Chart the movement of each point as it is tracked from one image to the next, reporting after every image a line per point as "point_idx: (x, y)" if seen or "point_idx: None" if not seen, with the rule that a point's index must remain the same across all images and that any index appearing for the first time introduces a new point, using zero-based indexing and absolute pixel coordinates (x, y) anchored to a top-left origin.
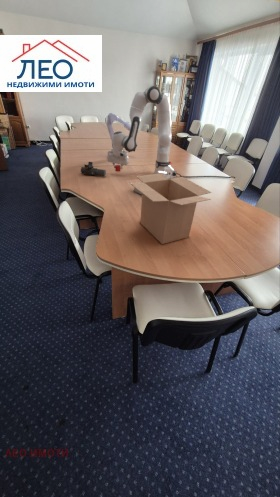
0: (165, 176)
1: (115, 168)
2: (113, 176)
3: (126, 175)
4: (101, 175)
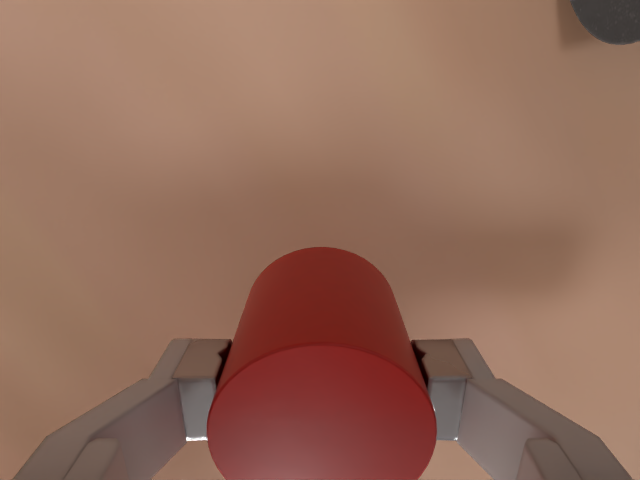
0: None
1: (381, 300)
2: (372, 144)
3: None
4: None
